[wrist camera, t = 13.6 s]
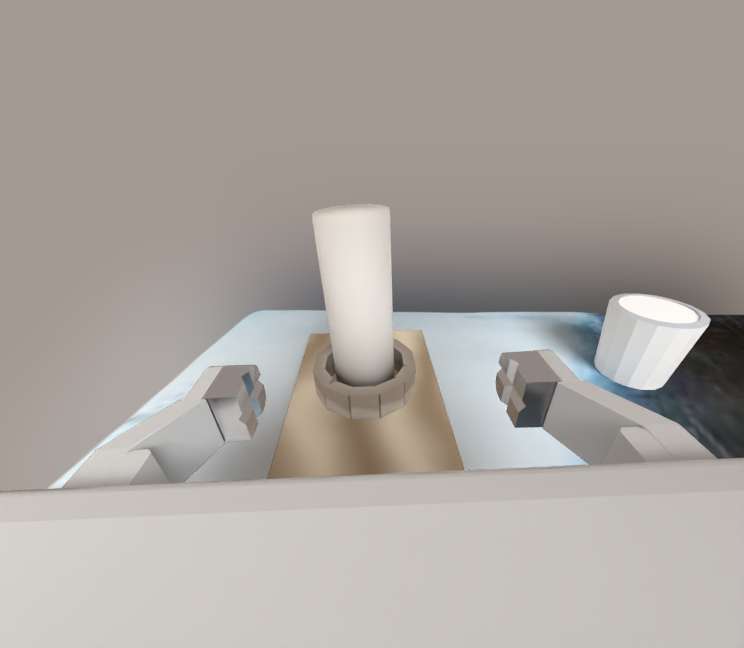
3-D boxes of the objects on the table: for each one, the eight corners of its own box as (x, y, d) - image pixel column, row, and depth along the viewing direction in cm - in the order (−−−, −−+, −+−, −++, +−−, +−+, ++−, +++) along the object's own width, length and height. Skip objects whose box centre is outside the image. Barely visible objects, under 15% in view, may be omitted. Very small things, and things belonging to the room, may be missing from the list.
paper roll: (392, 363, 30) (387, 202, 23) (397, 401, 26) (392, 216, 18) (339, 366, 30) (317, 206, 23) (335, 405, 26) (305, 221, 18)
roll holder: (420, 340, 37) (422, 310, 35) (461, 482, 21) (468, 443, 19) (312, 344, 37) (307, 315, 35) (272, 490, 21) (259, 452, 19)
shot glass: (601, 389, 28) (629, 323, 25) (577, 347, 34) (598, 289, 31) (690, 399, 27) (734, 331, 23) (650, 354, 33) (680, 294, 29)
